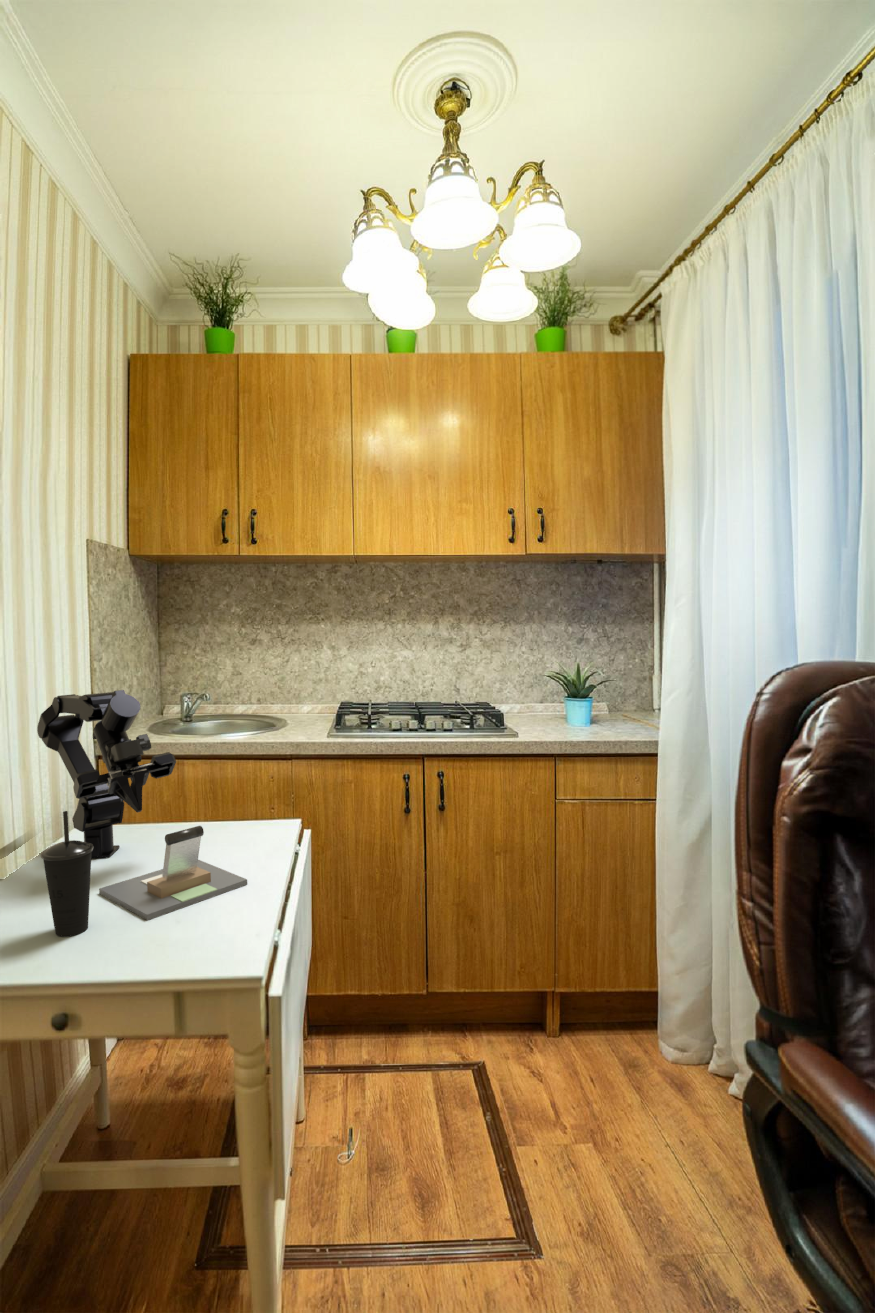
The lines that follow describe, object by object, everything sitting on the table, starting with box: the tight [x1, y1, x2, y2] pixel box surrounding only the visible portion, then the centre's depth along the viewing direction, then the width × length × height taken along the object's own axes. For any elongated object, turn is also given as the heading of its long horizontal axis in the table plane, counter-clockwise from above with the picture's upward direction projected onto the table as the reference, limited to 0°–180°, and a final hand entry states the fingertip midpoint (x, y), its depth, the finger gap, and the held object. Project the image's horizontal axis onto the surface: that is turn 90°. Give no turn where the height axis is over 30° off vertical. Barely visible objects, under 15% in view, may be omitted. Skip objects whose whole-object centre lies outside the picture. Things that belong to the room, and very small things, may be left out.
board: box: [98, 859, 248, 921], centre depth 135 cm, size 18×20×3 cm
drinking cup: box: [40, 810, 93, 938], centre depth 117 cm, size 8×8×20 cm
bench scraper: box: [162, 825, 205, 881], centre depth 132 cm, size 2×7×9 cm, turn 140°
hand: (139, 811), depth 140 cm, fingers closed
